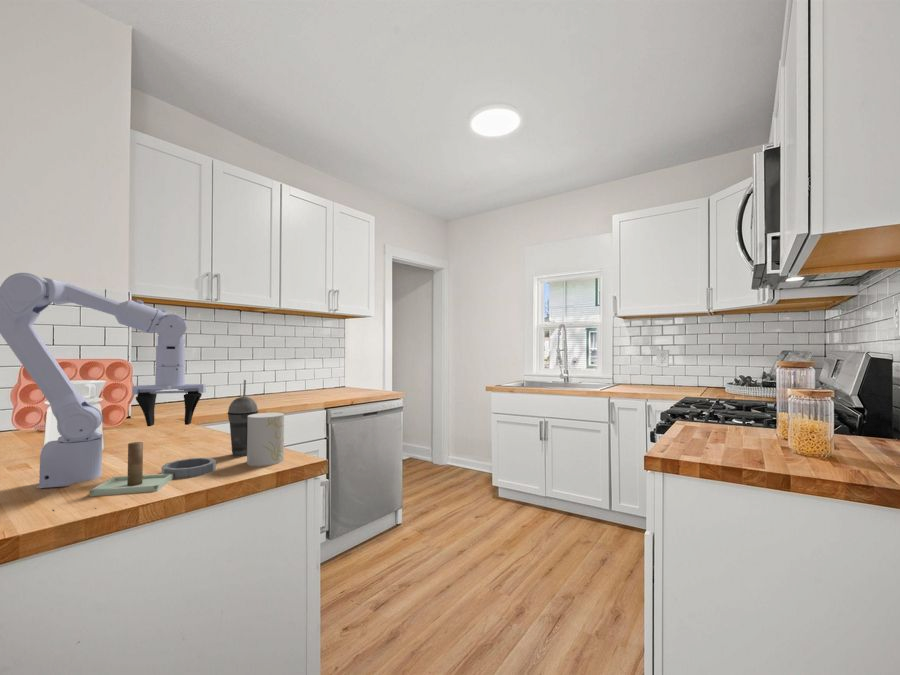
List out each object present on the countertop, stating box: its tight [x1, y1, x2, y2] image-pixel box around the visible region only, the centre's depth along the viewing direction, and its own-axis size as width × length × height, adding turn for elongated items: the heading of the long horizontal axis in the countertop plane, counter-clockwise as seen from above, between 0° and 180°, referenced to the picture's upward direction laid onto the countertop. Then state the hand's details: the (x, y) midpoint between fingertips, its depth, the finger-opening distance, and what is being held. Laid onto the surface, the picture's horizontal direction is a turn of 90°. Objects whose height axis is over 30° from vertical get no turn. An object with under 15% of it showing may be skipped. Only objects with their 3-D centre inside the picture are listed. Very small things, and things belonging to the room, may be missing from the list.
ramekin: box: [160, 457, 217, 480], centre depth 96 cm, size 10×10×3 cm
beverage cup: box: [227, 379, 259, 457], centre depth 113 cm, size 7×7×20 cm
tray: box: [89, 473, 174, 497], centre depth 86 cm, size 11×9×2 cm
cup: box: [246, 412, 285, 467], centre depth 105 cm, size 8×8×12 cm
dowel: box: [127, 441, 144, 486], centre depth 86 cm, size 2×2×8 cm
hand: (169, 424), depth 101 cm, fingers open, 7 cm apart
